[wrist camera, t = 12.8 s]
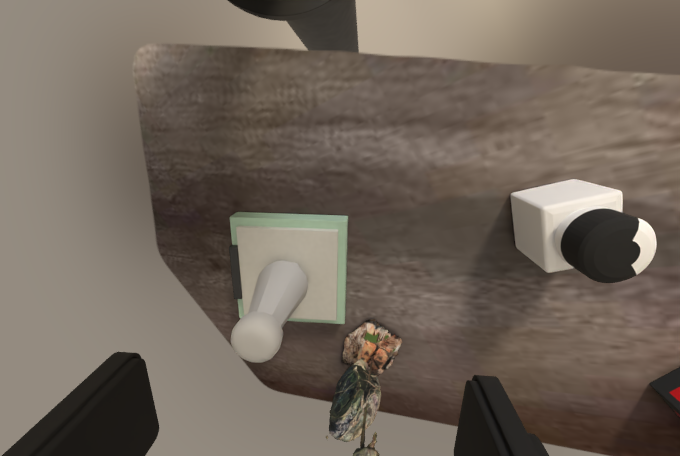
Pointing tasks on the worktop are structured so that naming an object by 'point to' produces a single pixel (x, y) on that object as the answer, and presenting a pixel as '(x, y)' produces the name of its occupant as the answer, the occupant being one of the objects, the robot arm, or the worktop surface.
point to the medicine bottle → (581, 231)
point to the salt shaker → (269, 311)
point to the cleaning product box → (669, 389)
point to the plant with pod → (361, 384)
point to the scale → (293, 259)
